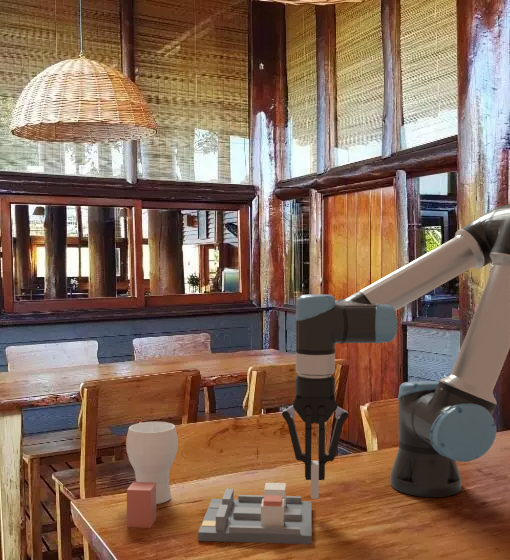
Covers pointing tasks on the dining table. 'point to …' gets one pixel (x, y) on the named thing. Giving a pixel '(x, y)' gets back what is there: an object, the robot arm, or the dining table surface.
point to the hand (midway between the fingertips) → (314, 496)
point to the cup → (153, 454)
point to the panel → (255, 521)
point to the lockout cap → (141, 504)
